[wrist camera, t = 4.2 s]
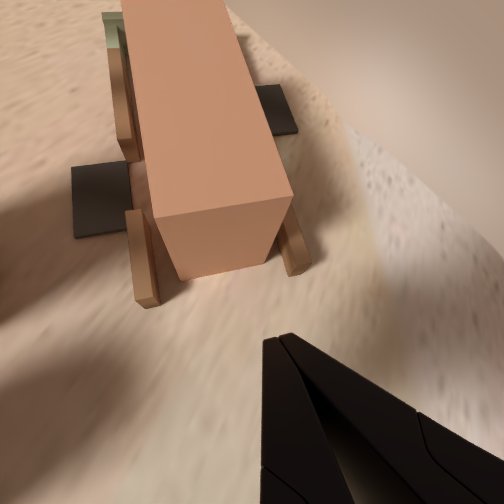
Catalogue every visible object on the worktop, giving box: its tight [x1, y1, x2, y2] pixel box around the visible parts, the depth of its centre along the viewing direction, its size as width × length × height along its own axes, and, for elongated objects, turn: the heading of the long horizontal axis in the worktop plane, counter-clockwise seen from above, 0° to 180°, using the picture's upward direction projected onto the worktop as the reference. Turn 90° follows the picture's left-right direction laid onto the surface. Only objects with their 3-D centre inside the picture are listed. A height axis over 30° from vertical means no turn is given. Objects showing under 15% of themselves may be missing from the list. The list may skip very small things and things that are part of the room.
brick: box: [121, 0, 294, 281], centre depth 19 cm, size 15×6×9 cm, turn 15°
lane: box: [71, 12, 312, 309], centre depth 23 cm, size 26×19×3 cm
